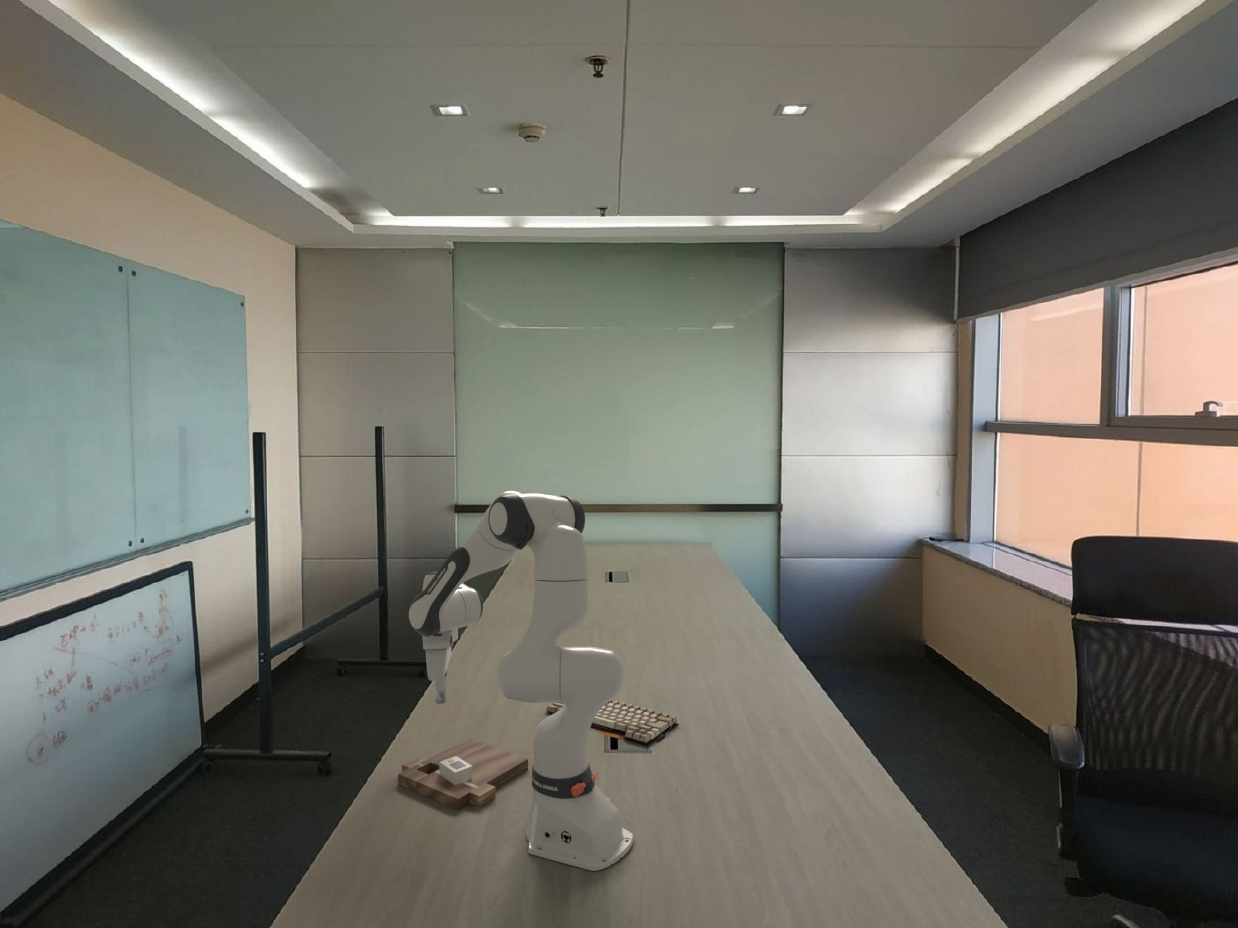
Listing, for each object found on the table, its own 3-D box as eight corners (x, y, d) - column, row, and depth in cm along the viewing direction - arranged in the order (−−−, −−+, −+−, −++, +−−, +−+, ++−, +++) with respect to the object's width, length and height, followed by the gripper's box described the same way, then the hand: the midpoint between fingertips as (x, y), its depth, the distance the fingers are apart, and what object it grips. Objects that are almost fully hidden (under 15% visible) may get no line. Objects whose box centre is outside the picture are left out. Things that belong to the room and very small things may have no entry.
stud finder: (472, 778, 169) (472, 765, 169) (455, 785, 166) (455, 771, 165) (456, 768, 174) (456, 755, 174) (439, 774, 171) (439, 761, 170)
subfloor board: (537, 772, 177) (537, 762, 177) (467, 814, 158) (467, 803, 158) (462, 744, 192) (461, 735, 192) (390, 780, 173) (389, 770, 173)
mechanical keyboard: (537, 718, 211) (537, 706, 211) (576, 697, 227) (576, 687, 227) (650, 751, 191) (650, 738, 190) (684, 725, 207) (684, 714, 206)
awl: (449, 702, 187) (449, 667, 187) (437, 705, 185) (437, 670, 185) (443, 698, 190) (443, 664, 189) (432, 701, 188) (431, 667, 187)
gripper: (432, 622, 197) (433, 673, 197) (421, 644, 176) (422, 701, 177) (456, 622, 197) (457, 672, 198) (448, 643, 177) (449, 699, 178)
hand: (440, 686), depth 187 cm, fingers closed on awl, 3 cm apart
